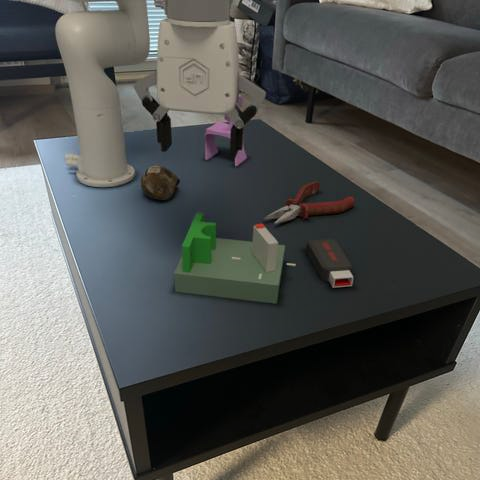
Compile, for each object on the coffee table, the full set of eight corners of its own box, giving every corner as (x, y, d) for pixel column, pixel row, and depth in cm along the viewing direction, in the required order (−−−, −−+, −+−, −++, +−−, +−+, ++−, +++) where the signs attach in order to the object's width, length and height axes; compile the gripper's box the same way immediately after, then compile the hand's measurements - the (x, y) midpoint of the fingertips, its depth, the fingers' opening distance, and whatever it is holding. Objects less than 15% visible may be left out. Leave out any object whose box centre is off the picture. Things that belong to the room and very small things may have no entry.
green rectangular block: (175, 291, 78) (173, 272, 76) (192, 252, 87) (191, 234, 85) (290, 305, 76) (292, 285, 74) (295, 264, 86) (297, 245, 83)
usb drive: (333, 249, 90) (335, 235, 88) (357, 286, 81) (360, 272, 79) (305, 251, 89) (307, 237, 88) (326, 289, 80) (329, 275, 78)
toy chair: (217, 150, 127) (217, 86, 118) (248, 156, 124) (251, 92, 115) (201, 160, 121) (200, 95, 112) (234, 167, 118) (236, 101, 109)
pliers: (247, 216, 99) (248, 203, 97) (313, 189, 110) (315, 178, 108) (290, 238, 93) (292, 226, 91) (356, 208, 104) (358, 196, 102)
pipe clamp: (206, 275, 76) (206, 249, 73) (182, 272, 76) (181, 246, 73) (218, 238, 85) (219, 213, 82) (197, 236, 85) (196, 211, 82)
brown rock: (153, 169, 109) (127, 193, 103) (163, 148, 104) (136, 172, 98) (181, 191, 110) (157, 216, 104) (192, 171, 105) (167, 196, 99)
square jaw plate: (275, 270, 77) (278, 240, 74) (266, 272, 77) (268, 242, 74) (260, 251, 82) (262, 222, 78) (251, 253, 81) (253, 224, 78)
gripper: (117, 7, 57) (131, 155, 68) (267, 17, 55) (258, 167, 66) (137, 0, 63) (148, 137, 74) (274, 8, 61) (264, 147, 72)
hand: (200, 151), depth 70 cm, fingers open, 9 cm apart
